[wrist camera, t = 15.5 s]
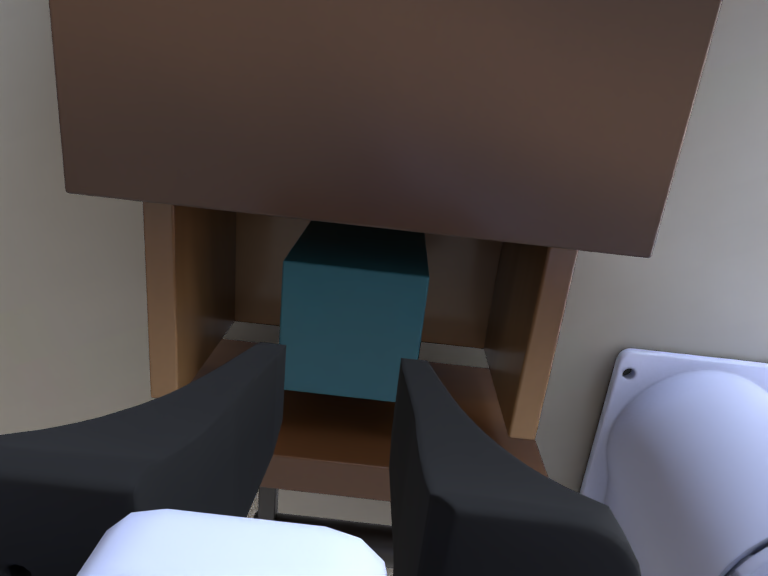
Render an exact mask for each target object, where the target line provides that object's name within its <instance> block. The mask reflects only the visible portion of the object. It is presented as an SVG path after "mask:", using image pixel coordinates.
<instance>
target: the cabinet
mask: <svg viewBox="0 0 768 576" xmlns="http://www.w3.org/2000/svg"><path fill="white" fill-rule="evenodd" d="M722 1H723V0H49V8H50V20H51V31H52V42H53V54H54V65H55V76H56V88H57V99H58V110H59V121H60V133H61V144H62V155H63V167H64V178H65V189H66V192H68V193H70V194H79V195H88V196H97V197H106V198H115V199H124V200H133V201H142V202H151V203H160V204H169V205H178V206H187V207H196V208H204V209H213V210H222V211H231V212H240V213H249V214H258V215H267V216H276V217H285V218H294V219H303V220H312V221H321V222H330V223H339V224H348V225H357V226H366V227H375V228H384V229H392V230H401V231H410V232H419V233H428V234H437V235H446V236H455V237H464V238H473V239H482V240H491V241H500V242H509V243H518V244H527V245H536V246H545V247H554V248H563V249H572V250H581V251H589V252H598V253H607V254H616V255H625V256H634V257H643V258H649V257H651V256H652V253H653V249H654V246H655V242H656V238H657V235H658V231H659V228H660V224H661V220H662V217H663V213H664V210H665V206H666V202H667V199H668V195H669V192H670V188H671V184H672V181H673V177H674V174H675V170H676V166H677V163H678V159H679V156H680V152H681V148H682V145H683V141H684V138H685V134H686V131H687V127H688V123H689V120H690V116H691V113H692V109H693V105H694V102H695V98H696V95H697V91H698V87H699V84H700V80H701V77H702V73H703V69H704V66H705V62H706V59H707V55H708V51H709V48H710V44H711V41H712V37H713V33H714V30H715V26H716V23H717V19H718V15H719V12H720V8H721V5H722Z"/></svg>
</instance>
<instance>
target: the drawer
mask: <svg viewBox="0 0 768 576" xmlns="http://www.w3.org/2000/svg"><path fill="white" fill-rule="evenodd" d="M143 216H144V240H145V264H146V288H147V312H148V336H149V360H150V384H151V397H152V398H159V397H161V396H164V395H166V394H169V393H171V392H173V391H175V390H177V389H180V388H182V387H184V386H186V385H187V384H189V383H191V382H193V381H195V380H197V379H199V378H201V377H203V376H204V375H206V374H208V373H210V372H212V371H214V370H215V369H217V368H219V367H220V366H222V365H224V364H225V363H227V362H228V361H230V360H232V359H233V358H235V357H237V356H238V355H240V354H241V353H243V352H245V351H246V350H248V349H249V348H251V347H253V346H254V345H256V344H258V343H256V342H247V341H238V340H229V339H222V338H223V337H224V335H225V334H226V333H227V331H228V330H229V328H230V327H231V326H232V324H233V323H234V321H240V322H249V323H258V324H267V325H276V326H280V312H281V290H282V268H283V261H284V259H285V258H286V256H287V255H288V253H289V252H290V250H291V249H292V248H293V246H294V245H295V243H296V242H297V240H298V239H299V237H300V236H301V234H302V233H303V232H304V230H305V229H306V227H307V226H308V224H309V223H310V221H311V220H303V219H294V218H285V217H276V216H267V215H258V214H249V213H240V212H231V211H222V210H213V209H204V208H196V207H187V206H178V205H169V204H160V203H151V202H143ZM425 240H426V250H427V259H428V268H429V278H430V279H429V287H428V294H427V301H426V308H425V315H424V322H423V329H422V337H421V342H428V343H437V344H446V345H455V346H463V347H472V348H481V349H484V352H485V355H486V359H487V362H488V366H489V369H488V368H479V367H470V366H461V365H452V364H443V363H434V362H428V363H429V364H430V365H431V367H432V368H433V370H434V371H435V373H436V375H437V376H438V378H439V379H440V381H441V382H442V384H443V385H444V386H445V388H446V389H447V391H448V392H449V393H450V395H451V396H452V397H453V399H454V400H455V401H456V402H457V404H458V405H459V406H460V408H461V409H462V410H463V411H464V412H465V413H466V414H467V415H468V416H469V417H470V418H471V420H472V421H473V422H474V423H475V424H476V425H477V426H478V427H479V428H480V429H481V430H482V431H484V432H485V433H486V434H487V435H488V436H489V437H490V438H492V439H493V440H494V441H495V442H496V443H497V444H499V445H500V446H501V447H502V448H504V449H505V450H506V451H508V452H509V453H510V454H512V455H513V456H515V457H516V458H518V459H519V460H520V461H522V462H523V463H525V464H526V465H528V466H529V467H531V468H533V469H534V470H536V471H537V472H539V473H541V474H542V475H544V476H546V477H548V475H547V472H546V469H545V467H544V464H543V461H542V458H541V455H540V452H539V450H538V447H537V444H536V441H535V437H536V433H537V429H538V424H539V420H540V416H541V411H542V407H543V403H544V398H545V394H546V390H547V385H548V381H549V377H550V372H551V368H552V364H553V359H554V355H555V351H556V346H557V342H558V338H559V333H560V329H561V325H562V320H563V316H564V312H565V308H566V303H567V299H568V295H569V290H570V286H571V282H572V277H573V273H574V269H575V264H576V260H577V256H578V251H579V250H572V249H563V248H554V247H545V246H536V245H527V244H518V243H509V242H500V241H491V240H482V239H473V238H464V237H455V236H446V235H437V234H428V233H425ZM394 409H395V402H389V401H380V400H371V399H362V398H353V397H344V396H335V395H326V394H317V393H308V392H299V391H290V390H284V402H283V420H282V424H281V428H280V432H279V435H278V439H277V443H276V446H275V450H274V453H273V456H272V459H271V461H270V463H269V466H268V468H267V470H266V473H265V475H264V477H263V480H262V482H261V484H260V487H259V501H258V511H257V512H256V513H255V515H254V518H253V519H262V520H271V521H280V522H289V523H298V524H307V525H316V526H324V527H328V528H331V529H334V530H337V531H340V532H343V533H346V534H349V535H352V536H355V537H358V538H361V539H362V540H363V541H364V542H365V543H366V544H367V545H368V546H369V547H370V548H371V549H372V550H373V551H374V552H375V553H376V554H377V555H378V556H379V557H380V558H381V559H382V560H383V561H384V562H385V567H386V568H393V535H392V526H390V525H381V524H372V523H363V522H354V521H345V520H336V519H328V518H319V517H310V516H301V515H292V514H283V513H277V510H278V489H284V490H293V491H301V492H310V493H319V494H328V495H337V496H346V497H355V498H364V499H373V500H382V501H390V502H391V498H390V478H389V462H390V447H391V433H392V425H393V417H394Z"/></svg>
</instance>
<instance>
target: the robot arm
mask: <svg viewBox="0 0 768 576" xmlns="http://www.w3.org/2000/svg"><path fill="white" fill-rule="evenodd" d="M285 362H286V345H282V344H273V343H264V342H260V343H258V344H256V345H254V346H253V347H251V348H249V349H248V350H246V351H245V352H243V353H241V354H240V355H238V356H237V357H235V358H233V359H232V360H230V361H228V362H227V363H225V364H224V365H222V366H220V367H219V368H217V369H215V370H214V371H212V372H210V373H208V374H206V375H204V376H203V377H201V378H199V379H197V380H195V381H193V382H191V383H189V384H187V385H186V386H184V387H182V388H180V389H177V390H175V391H173V392H171V393H169V394H166V395H164V396H161V397H159V398H156V399H154V400H151V401H149V402H146V403H144V404H141V405H138V406H135V407H132V408H128V409H125V410H122V411H119V412H116V413H112V414H109V415H106V416H103V417H99V418H95V419H91V420H86V421H82V422H78V423H73V424H68V425H64V426H59V427H53V428H48V429H42V430H35V431H27V432H20V433H12V434H5V435H0V576H387V572H386V567H385V562H384V561H383V560H382V559H381V558H380V557H379V556H378V555H377V554H376V553H375V552H374V551H373V550H372V549H371V548H370V547H369V546H368V545H367V544H366V543H365V542H364V541H363V540H362V539H361V538H358V537H355V536H352V535H349V534H346V533H343V532H340V531H337V530H334V529H331V528H328V527H324V526H316V525H307V524H298V523H289V522H280V521H271V520H262V519H253V518H246V517H247V514H248V512H249V510H250V507H251V505H252V503H253V501H254V498H255V496H256V494H257V491H258V489H259V487H260V484H261V482H262V480H263V477H264V475H265V473H266V470H267V468H268V466H269V463H270V461H271V459H272V456H273V453H274V450H275V446H276V443H277V439H278V435H279V432H280V428H281V424H282V420H283V402H284V382H285ZM628 368H631V369H632V371H631V372H630V373H629V374H628V375H622V373H623V371H624V370H626V369H628ZM389 478H390V498H391V516H392V535H393V576H768V363H760V362H751V361H742V360H733V359H724V358H715V357H706V356H697V355H688V354H679V353H670V352H662V351H653V350H644V349H635V348H627V349H625V350H622V351H621V352H620V353H619V354H618V356H617V358H616V362H615V366H614V369H613V373H612V377H611V380H610V384H609V388H608V391H607V395H606V399H605V402H604V406H603V410H602V413H601V417H600V421H599V424H598V428H597V432H596V435H595V439H594V443H593V446H592V450H591V453H590V457H589V461H588V464H587V468H586V472H585V475H584V479H583V483H582V486H581V490H580V493H578V492H575V491H573V490H571V489H569V488H567V487H565V486H563V485H561V484H559V483H557V482H555V481H553V480H552V479H550V478H548V477H546V476H544V475H542V474H541V473H539V472H537V471H536V470H534V469H533V468H531V467H529V466H528V465H526V464H525V463H523V462H522V461H520V460H519V459H518V458H516V457H515V456H513V455H512V454H510V453H509V452H508V451H506V450H505V449H504V448H502V447H501V446H500V445H499V444H497V443H496V442H495V441H494V440H493V439H492V438H490V437H489V436H488V435H487V434H486V433H485V432H484V431H482V430H481V429H480V428H479V427H478V426H477V425H476V424H475V423H474V422H473V421H472V420H471V418H470V417H469V416H468V415H467V414H466V413H465V412H464V411H463V410H462V409H461V408H460V406H459V405H458V404H457V402H456V401H455V400H454V399H453V397H452V396H451V395H450V393H449V392H448V391H447V389H446V388H445V386H444V385H443V384H442V382H441V381H440V379H439V378H438V376H437V375H436V373H435V371H434V370H433V368H432V367H431V365H430V364H429V363H428V361H425V360H416V359H407V358H401V363H400V370H399V378H398V386H397V394H396V402H395V409H394V417H393V425H392V433H391V447H390V462H389Z"/></svg>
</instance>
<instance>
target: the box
mask: <svg viewBox="0 0 768 576" xmlns="http://www.w3.org/2000/svg"><path fill="white" fill-rule="evenodd" d="M429 279H430V278H429V268H428V259H427V250H426V240H425V233H419V232H410V231H401V230H392V229H384V228H375V227H366V226H357V225H348V224H339V223H330V222H321V221H312V220H311V221H310V223H309V224H308V226H307V227H306V229H305V230H304V232H303V233H302V234H301V236H300V237H299V239H298V240H297V242H296V243H295V245H294V246H293V248H292V249H291V250H290V252H289V253H288V255H287V256H286V258H285V259H284V261H283V268H282V290H281V312H280V334H279V344H282V345H286V362H285V382H284V390H290V391H299V392H308V393H317V394H326V395H335V396H344V397H353V398H362V399H371V400H380V401H389V402H396V394H397V386H398V378H399V370H400V363H401V358H407V359H416V360H418V358H419V351H420V344H421V337H422V329H423V322H424V315H425V308H426V301H427V294H428V287H429Z"/></svg>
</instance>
